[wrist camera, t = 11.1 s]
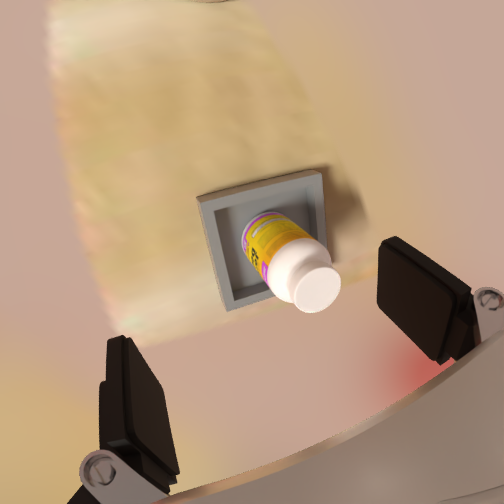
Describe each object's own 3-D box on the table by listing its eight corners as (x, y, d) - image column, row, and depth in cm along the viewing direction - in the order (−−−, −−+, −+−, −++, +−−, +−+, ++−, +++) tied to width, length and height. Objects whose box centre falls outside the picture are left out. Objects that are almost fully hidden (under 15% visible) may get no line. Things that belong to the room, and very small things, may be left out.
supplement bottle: (229, 229, 37) (271, 285, 26) (278, 199, 37) (338, 240, 26) (255, 271, 40) (300, 334, 29) (299, 243, 40) (357, 294, 29)
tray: (196, 197, 34) (199, 203, 32) (311, 169, 37) (321, 173, 35) (222, 301, 41) (226, 311, 39) (319, 268, 44) (328, 277, 42)
